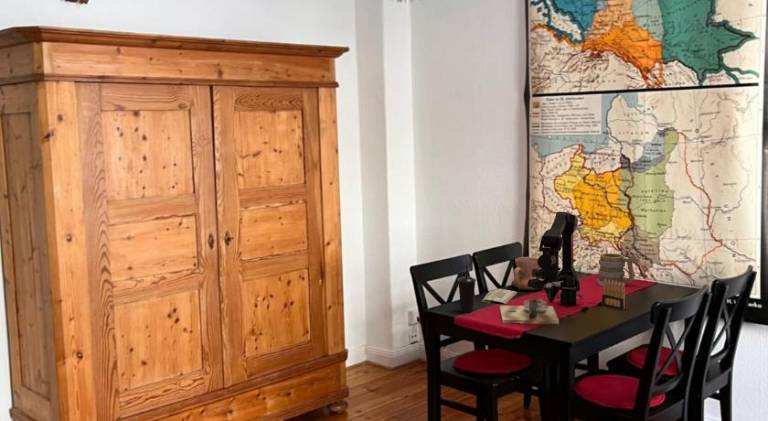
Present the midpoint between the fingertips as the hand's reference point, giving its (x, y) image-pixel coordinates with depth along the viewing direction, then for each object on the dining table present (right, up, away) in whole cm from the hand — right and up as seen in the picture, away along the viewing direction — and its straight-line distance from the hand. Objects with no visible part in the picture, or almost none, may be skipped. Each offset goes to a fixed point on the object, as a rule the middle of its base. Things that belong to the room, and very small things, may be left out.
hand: (550, 302), depth 317 cm
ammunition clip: (+31, -5, +20) cm, 37 cm away
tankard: (+45, +1, +60) cm, 75 cm away
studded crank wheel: (-5, -5, +7) cm, 10 cm away
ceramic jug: (+1, 0, +55) cm, 55 cm away
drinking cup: (-32, -6, +18) cm, 37 cm away
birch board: (-7, -6, +8) cm, 13 cm away
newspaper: (-16, -3, +40) cm, 43 cm away
